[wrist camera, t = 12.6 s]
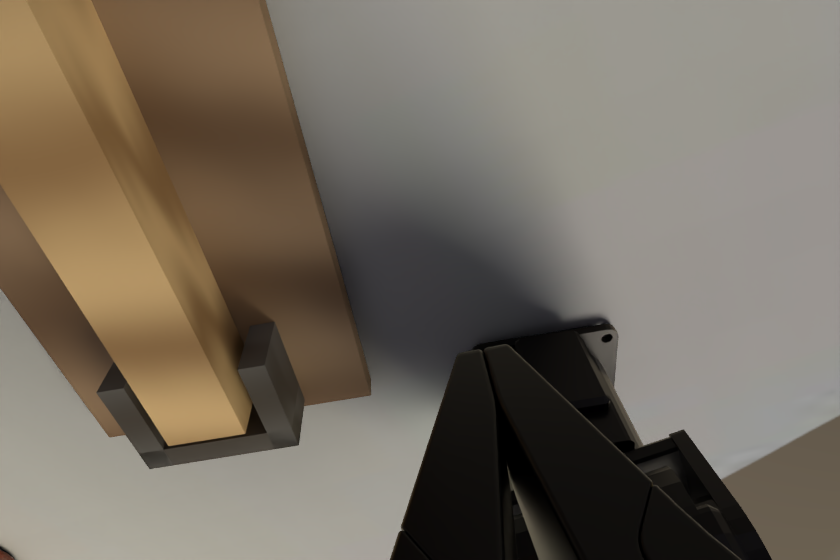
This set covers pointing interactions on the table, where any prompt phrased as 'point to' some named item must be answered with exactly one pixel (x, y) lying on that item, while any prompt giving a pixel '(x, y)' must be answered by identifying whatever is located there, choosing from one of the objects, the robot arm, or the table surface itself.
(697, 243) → the table surface
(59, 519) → the table surface
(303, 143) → the endcap frame
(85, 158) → the slat
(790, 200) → the table surface
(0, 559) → the supplement bottle
